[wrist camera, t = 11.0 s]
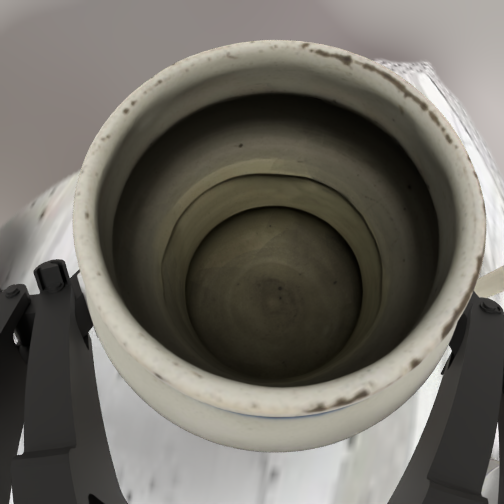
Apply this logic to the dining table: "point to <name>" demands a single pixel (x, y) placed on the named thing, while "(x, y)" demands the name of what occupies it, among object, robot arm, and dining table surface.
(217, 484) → the dining table surface
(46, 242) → the dining table surface
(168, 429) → the dining table surface
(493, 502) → the teacup
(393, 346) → the apothecary jar
